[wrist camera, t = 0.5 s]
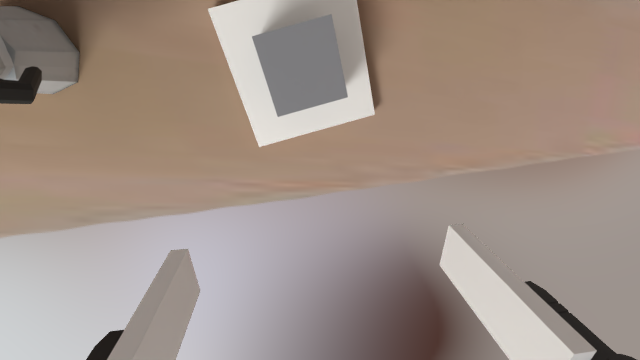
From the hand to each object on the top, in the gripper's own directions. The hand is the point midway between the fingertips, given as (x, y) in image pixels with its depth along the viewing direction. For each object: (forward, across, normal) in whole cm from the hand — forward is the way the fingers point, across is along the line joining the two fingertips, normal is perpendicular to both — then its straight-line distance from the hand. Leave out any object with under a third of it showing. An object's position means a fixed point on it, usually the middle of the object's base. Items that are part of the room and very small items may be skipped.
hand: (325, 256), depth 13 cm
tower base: (+26, 0, +8) cm, 27 cm away
